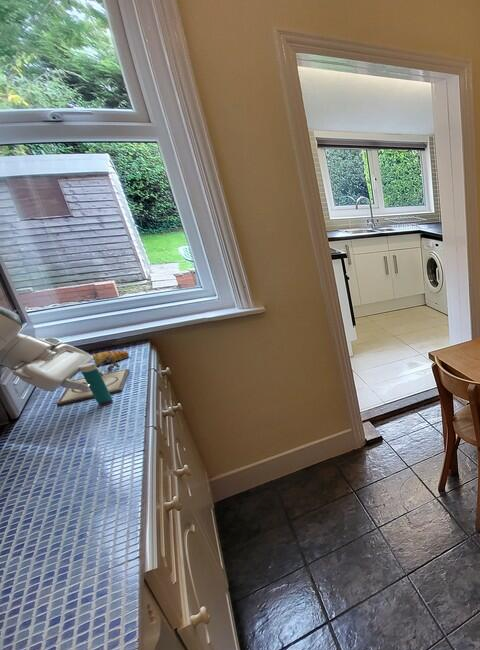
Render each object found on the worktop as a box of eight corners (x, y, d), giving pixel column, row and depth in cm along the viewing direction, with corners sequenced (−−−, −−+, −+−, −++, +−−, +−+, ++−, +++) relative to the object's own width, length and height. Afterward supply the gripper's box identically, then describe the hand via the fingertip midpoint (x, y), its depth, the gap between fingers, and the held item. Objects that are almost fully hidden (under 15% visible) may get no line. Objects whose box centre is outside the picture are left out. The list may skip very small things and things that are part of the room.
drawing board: (57, 406, 117) (56, 403, 116) (73, 382, 132) (71, 379, 131) (121, 391, 124) (120, 388, 123) (129, 370, 139) (128, 368, 138)
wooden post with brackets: (120, 366, 140) (108, 355, 138) (98, 378, 140) (86, 368, 138) (123, 364, 142) (111, 354, 140) (102, 376, 141) (90, 365, 139)
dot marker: (95, 405, 116) (75, 367, 111) (107, 400, 119) (88, 362, 114) (104, 406, 116) (85, 367, 111) (116, 400, 118) (97, 362, 114)
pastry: (128, 354, 153) (123, 345, 152) (131, 359, 149) (126, 349, 148) (94, 362, 147) (89, 352, 146) (96, 367, 143) (91, 357, 141)
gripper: (13, 360, 98) (85, 387, 105) (58, 335, 115) (117, 360, 123) (-2, 380, 98) (71, 406, 106) (45, 353, 115) (105, 377, 123)
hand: (96, 381), depth 114 cm, fingers open, 8 cm apart
